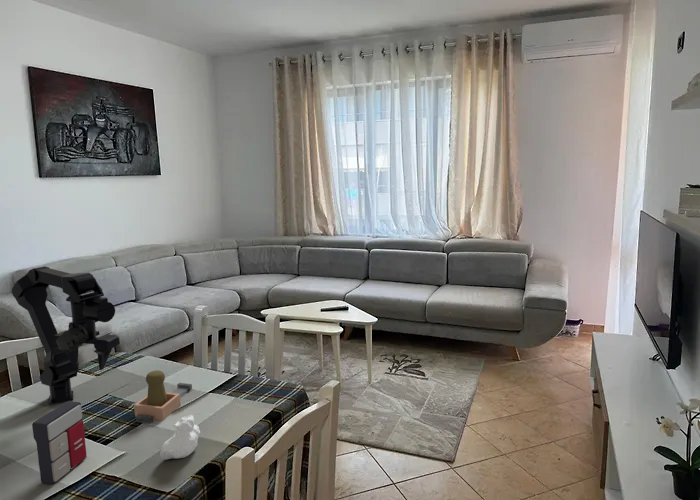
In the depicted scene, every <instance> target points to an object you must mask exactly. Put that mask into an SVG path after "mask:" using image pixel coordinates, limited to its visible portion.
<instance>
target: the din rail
mask: <svg viewBox="0 0 700 500" xmlns="http://www.w3.org/2000/svg"><path fill="white" fill-rule="evenodd" d="M176 386H177V388H175V389H174V390H173V391H172V392H171V393H176V394H180V399H181V398H182V397H183V396H184V395H185V394H186V392H187V393H188V392H190V391H189V390H191V389H192V390H193V384H192V383H184V382H178V383H177V385H176ZM192 390H191V391H192ZM135 419H136V423H141V424H148V425H151V424H152V423H153V422H154V420H155V419H154V416H150V415H142V414H138V415H137V416H136V417H135Z"/></svg>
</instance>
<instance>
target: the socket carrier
mask: <svg viewBox="0 0 700 500" xmlns="http://www.w3.org/2000/svg"><path fill="white" fill-rule="evenodd" d="M165 392H166V391H165ZM166 396H167V401H168V402H167V403H165V404H164V405H163V406H162V407H159V406H151V405H147V397H148V394H147V395H145V396H144V397H143V398H142V399H140V400H139V401H137V402H136V403H134V405H133V408H134V409H133V410H134V417H135V418H136V416H137V415H138V414H142V415H150V416H154V420H157V421H164V420H165V419H167V418H168V417H169V416H170V415H171V414H173V412H175V411H176V410H177V409H178V408H180V407H181V398H180V394H176V393H172V392H168V391H167V392H166Z"/></svg>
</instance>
